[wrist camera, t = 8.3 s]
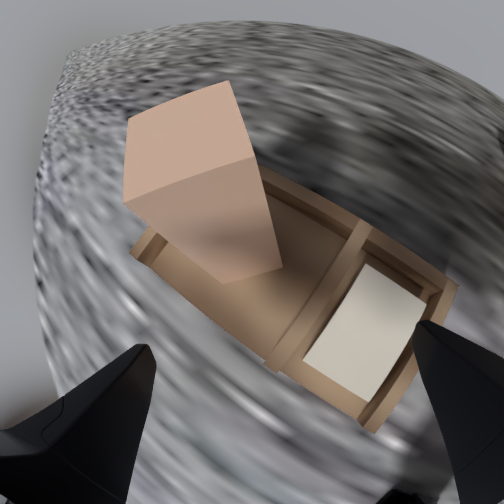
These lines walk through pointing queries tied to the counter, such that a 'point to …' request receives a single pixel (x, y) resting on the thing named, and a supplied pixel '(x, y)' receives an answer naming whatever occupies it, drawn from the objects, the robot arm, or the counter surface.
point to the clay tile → (366, 333)
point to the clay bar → (201, 183)
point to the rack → (306, 290)
